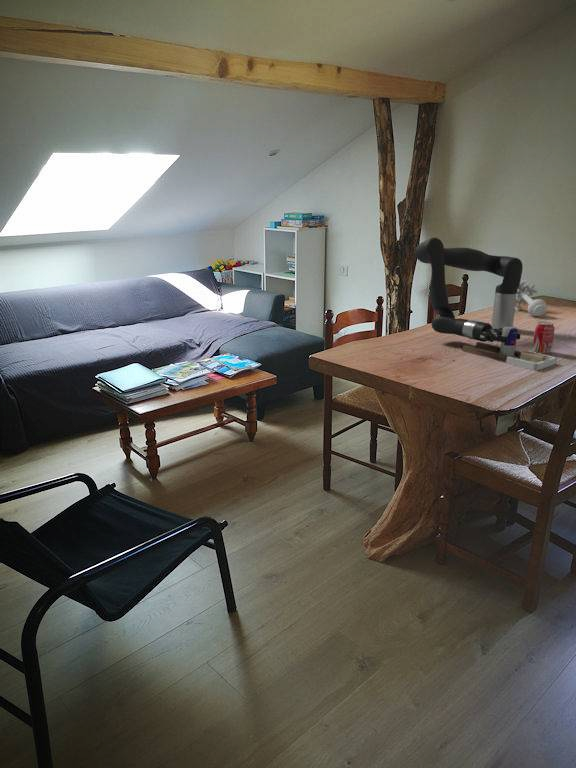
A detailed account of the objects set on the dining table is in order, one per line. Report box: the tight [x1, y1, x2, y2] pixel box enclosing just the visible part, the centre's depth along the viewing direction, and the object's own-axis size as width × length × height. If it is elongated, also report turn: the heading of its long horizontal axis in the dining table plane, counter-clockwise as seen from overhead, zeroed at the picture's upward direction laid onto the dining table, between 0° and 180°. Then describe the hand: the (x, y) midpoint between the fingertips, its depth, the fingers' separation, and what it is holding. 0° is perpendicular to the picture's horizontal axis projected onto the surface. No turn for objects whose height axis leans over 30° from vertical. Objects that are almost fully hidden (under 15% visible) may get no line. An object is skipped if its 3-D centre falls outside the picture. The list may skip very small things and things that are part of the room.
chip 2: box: [531, 353, 547, 363], centre depth 209 cm, size 4×4×4 cm
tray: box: [505, 350, 558, 372], centre depth 210 cm, size 14×12×2 cm
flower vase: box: [515, 278, 547, 317], centre depth 295 cm, size 13×18×25 cm
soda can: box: [532, 320, 555, 355], centre depth 224 cm, size 7×7×12 cm
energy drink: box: [499, 325, 519, 358], centre depth 216 cm, size 5×5×12 cm
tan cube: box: [519, 350, 535, 362], centre depth 211 cm, size 4×4×4 cm
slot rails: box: [461, 341, 522, 362], centre depth 223 cm, size 11×19×2 cm, turn 38°
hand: (513, 338), depth 214 cm, fingers open, 8 cm apart
